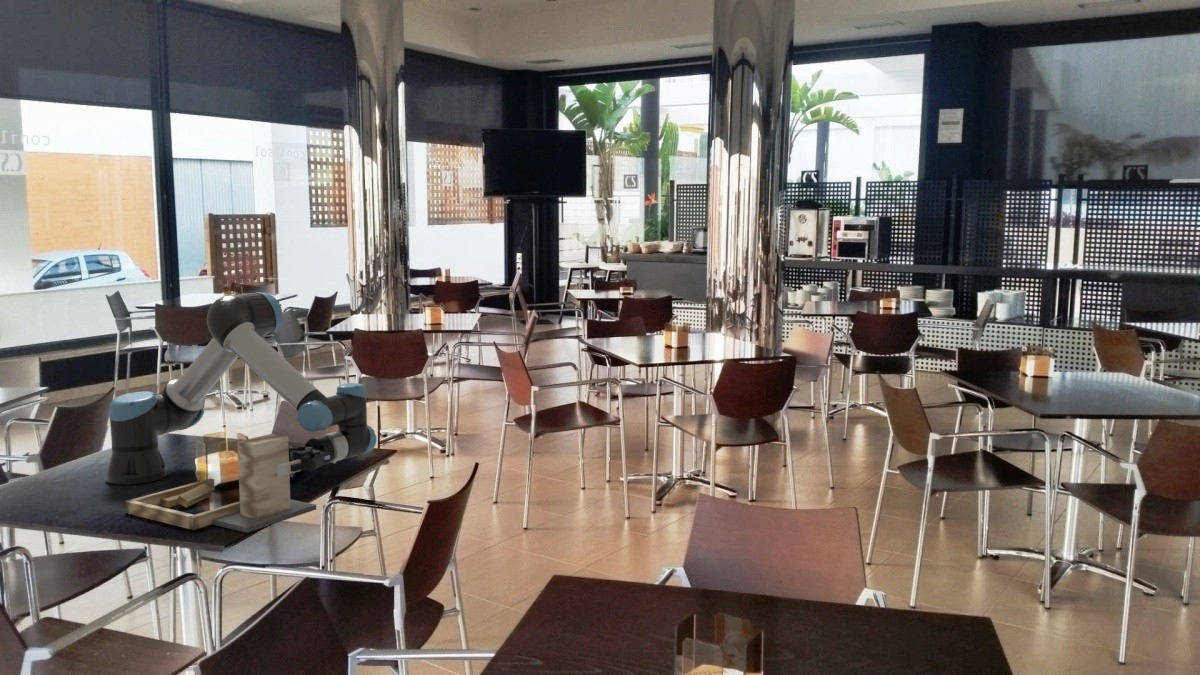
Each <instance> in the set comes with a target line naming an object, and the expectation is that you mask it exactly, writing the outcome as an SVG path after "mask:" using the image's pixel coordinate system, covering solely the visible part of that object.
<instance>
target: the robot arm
mask: <svg viewBox="0 0 1200 675" xmlns="http://www.w3.org/2000/svg"><path fill="white" fill-rule="evenodd" d="M281 306H282V305H281V304H280V302H279V301H278V299H277V298H276V297H275V296H273V295H272V294H270V293H268V292H259V291H256V292H250V293H241V294H230V295H229V294H228V295H224V296H221V297H219V298H217V299H216V300H215V301H213V303H211V305H210V307H209V308H208V310H207V314H206V325H207V329H208V331H209V333H210V335H211V336H212V339H211V340H210V341H209V342H208V343H207V345H206V346H205V347H204V348H203V350H202V351H201V352H200V353H199V354H198V356H197V357H196V358H195V359H194V360H193V362H191V363H190V365H189V366H188V367H187V369H186V370H185V371H184V373H183V374H182V375H181V376H180V377H179V378H175V379H172V380H170V381H168V382H167V384H166V385H165V387H164V388H163V389H162V390H161V391H159V393H154V392H152V391H146V390H143V391H134V392H129V393H128V392H127V393H125V394H122V395H119V396H116V397H115V398H114V399H112V400H111V402H110V404H109V415H108V418H109V423H110V424H109V426H110V437H111V438H110V439H111V440H110V441H111V456H110V459H109V462H108V466H107V470H106V472H105V475H106V476H105V477H106V482H107V483H108V484H113V485H119V486H121V485H123V486H125V485H126V486H127V485H141V484H147V483H151V482H152V483H153V482H155V481H159V480H161V479H163V478H165V477H167V475H168V474H167V473H168V472H167V465H166V462H165V461H164V459H163V458H164V457H163V456H162V453H161V452H160V448H159V436H161V435H165V434H168V433H173V432H177V431H185V430H186V429H189V428H191V427H193V426H194V425H196V424H198V423H199V422H200V421H201V419H202V418H203V417H204V414H205V410H204V408H205V404H206V398H205V397H206V396H207V395H208V393H209V392H210V391H211V390H212V389H213V388H214V387H215V385H216V384H217V383H218V382H219V380H220V379H221V378H222V377H223V376H224V374H226V372H227V371H228V370H229V368H231V367H232V365H233V364H234V363H235V362H236V361H237V359H238V358H239V359H240V360H241V361H242V362H243V363H244V364H245V365H246V366H248V367H249V369H251V370H252V371H253V372H254V373H256V375H257V376H259V377H260V378H261V379H262V380H263V381H264V382H265V383H266V384H267V385H268V386H269V387H270V388H272V390H274V391H275V392H276V393H277V395H279V396H280V397H281V398H282V399H283V400H284V401H285V402H287V403H288V404H289V405H290V406H291V407H292V408H293V409H294V410H295V411H296V412H297V416H296V418H297V421H298V424H299V426H300V427H301V428H302V429H303V430H305V431H307V432H309V433H310V432H312V433H313V432H318V431H324V430H327V429H328V428H331V427H333V426H338V427H337V429H338V430H337V431H333V432H329V433H325V434H322V435H318V436H313V437H311V438H309V439H308V440H307V441H306V442H305V446H298V447H295V446H294V445H291V446H289V462H287V463H283V464H280V465H277V476H278V477H281V476H284V475H288V474H291V473H295V472H297V473H299V472H301V471H308V470H309V471H310V472H314V471H316V470H318V469H319V468H320V467H322V466H324V465H328V464H330V463H331V464H337V462H338V461H342V460H346V459H349V458H353V457H356V456H363V455H364V454H366V453H368V452H371V451H372V450H374V448H375V447H376V445H377V435H376V433H375V430H374V429H373V427H372V426H370V425H368V423H367V422H368V420H367V419H368V414H367V413H368V412H367V411H368V410H367V405H368V404H367V403H368V402H367V399H368V398H367V393H366V392H367V390H366V386H365V385H364V384H363V383H358V382H357V383H356V382H350V383H349V382H348V383H341V384H338V386H337V387H336V392H335V395H332V396H326V395H325V394H323V393H322V392H321V391H320V390H319V389H318V388H317V387H315V385H313V384H312V383H311V382H310V381H309V380H308V378H306V377H305V376H304V375H303V374H301V373H300V372H299V371H298V370H297V369H296V368H295V367H294V366H293V365H292V364H291V363H290V362H289V361H287V360H286V359H285V358H284V357H283V356H282V355H281V354H280V353H279V352H278V351H277V350H276V349H275V348H274V347H272V346H271V345H270V343H268V342H267V341H266V340H265V339H264V337H265V335H271V334H273V333H275V332H277V331H278V330H279V329H280V327H281V326H282V323H283V317H284V316H283V309H282V307H281ZM291 456H293V459H291Z"/></svg>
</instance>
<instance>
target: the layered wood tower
mask: <svg viewBox="0 0 1200 675" xmlns="http://www.w3.org/2000/svg"><path fill="white" fill-rule="evenodd" d="M288 443H289V436H287V435H279V434H275V433H269V434H265V435H260V436H256V437H252V438H249V439H244V440H243V439H242V440H239V441H237V462H238V466H237V468H238V486H239V501H240V515H241V516H246V517H250V518H254V519H260V518H263V517H266V516H269V515H272V514H275V513H278V512H281V511H284V510H288V509H291V503H290V499H291V485H290V484H291V481H290V480H291V479H290V475H289V474H288V475H284V476H281V477H278V476H277V465H280V464H283V463H287V462H289V446H288Z"/></svg>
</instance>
